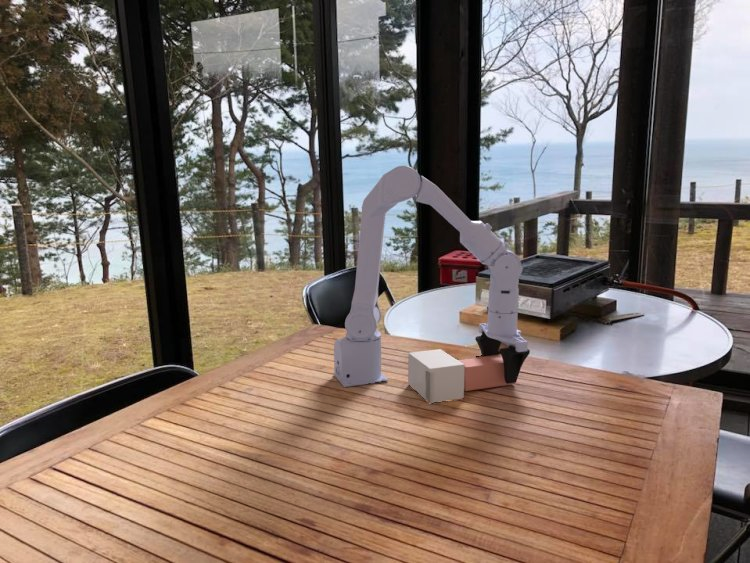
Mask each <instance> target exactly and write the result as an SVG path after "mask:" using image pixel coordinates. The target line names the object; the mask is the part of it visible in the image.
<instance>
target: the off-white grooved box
mask: <svg viewBox="0 0 750 563" xmlns="http://www.w3.org/2000/svg"><path fill="white" fill-rule="evenodd" d="M446 352H447V351H445V350H443V349H441V348H438V349H429V350H421V351H420V350H419V351H412V352H411V351H410V352H408V353H407V354H408V360H407V362H408V364H407V366H408V367H407V369H408V372H407V375H408V376H407V380H408V381H407V385H408V384H409V385H411V386H412V387H413V388H414V389H415V390H416V391H417V392H418V393H419V394H420V395H421V396H422V397H423V398H424V399H425V400H427V401H428V402H429V403H433V402H439V401H446V400H452V399H460V398H464V397H465V390H464V365H465V364H463V363H462V362H460V361H458V360H457V359H455V358H454V357H452V356H451V355H449V354H450V353H448V352H447V353H448V354H447V353H446ZM419 394H418V395H419ZM420 395H419V396H420ZM421 396H420V397H421ZM422 397H421V398H422ZM423 398H422V399H423ZM424 399H423V400H424ZM425 400H424V401H425ZM428 402H427V403H428ZM429 403H428V404H429Z"/></svg>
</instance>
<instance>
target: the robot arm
mask: <svg viewBox="0 0 750 563" xmlns="http://www.w3.org/2000/svg"><path fill="white" fill-rule="evenodd" d="M415 196H417V197H416V199H415V202H418V203H421V204H425V205H429V206H431V207H432V208H433V209H434V210H435V211H436V212H437V213H438V214H439V215H441V217H443V218H444V219H445V220H446V221H447V222H448V223H449V224H450V225H452V226H453V227H454V228H455V229H456V230H457V231H458V232H459V243H460V244H461V245H462V246H463V247H464V248H465V249H467V251H469V253H470V254H472V255H473V257H475V258H476V259H477V260H478V261H479V262H480V263H481V264H482V265H486V266H487V269H488V271H489V272H490V276H489V278H490V279H489V287H488V304H487V322H485V323H483V322H482V323H479V325H478V333H479V334H480V335H477V336H475V337H474V338H475V343H478V345H479V348H480V350H481V354H482V356H481V357H485V356H493V355H499V353H500V355H501V356H502V359H503V364H504V377H505V382H506V383H507V384H510V383H515V384H516V383H517V382H518V381H517V380H518V377H519V374H520V372H521V368H522V366H523V365H524V362H525V360H526V359H527V357H528V356H530V353H531V352H530V351H531V350H530V349H529V348H528V343H529V342H528V341H527V340H525V339H524V337H522V336H521V335H522V330H520V329H518V316H519V315H518V314H519V313H518V312H519V293H520V289H519V282H520V280H519V277H520V276H522V273H523V269H524V268H523V266H522V260H521V259H520V258H519V256H518V255H517V254H516V253H514V252H513V249H511V248H509V247H510V244H509V243H508V242H507V241H505V242H504V241H502V240H501V238H499V236H498V235H496V233H494V232H493V231H492V229H493V227H492V225H490V223H488V222H487V223H484V222H483V221H482V220H471V219H470V218H469V217H468V216H467V215H466V214H465V213H464V212H463V211H462V210H461V209H460V208H459V207H458V206H457V205H456V204H455V203H454V202H453V201H452V199H451V198H450V197H448V196H447V195H446V194H445V192H444V191H443V190H441V189H440V188H439V186H437V185H436V184H435V183H433V182H432V181H430V180H429V179H427V178H426V177H424V176H423V175H420V174H419V173H418V171H417V170H415V168H412V167H411V166H408V165H398V166H396V167H393V168H392V169H390V170H389V171H387V172H386V173H384V174H383V175H382V176H381V177H380V179H379V180H378V182H377V183H376V184H375V185H374V186H373V187H372V189H371V190H370V192H369V193H368V194H367V195H366V196H365V198H364V199H363V201H362V205H361V206H362V207H361V218H360V228H359V239H358V250H357V260H356V273H355V284H354V290H353V296H352V300H351V306H350V311H349V313H348V314H347V316H346V318H345V320H344V321H345V322H344V327H345V328H344V329H345V332H346V333H345V336H344V337H342V338H338V339H335V340H334V345H333V363H334V369H333V370H334V371H333V375H334V377H335V378H336V379H337V380H338V382H339V383H340V384H341V386H343V387H344V388H346V387H354V386H355V387H356V386H362V385H369V384H368V383H371V384H376V383H375V382H379V383H382V382H381V381H386V382H388V381H389V378H388V377H387V376H386V375H385V374H384V373H382V333H381V332H380V330H379V329H378V324H379V323H380V321H381V317H382V313H381V309H380V307H379V284H380V283H379V282H380V275H381V274H380V273H381V262H382V255H383V241H384V234H385V233H384V232H385V223H386V222H385V220H386V214H387V212H389V211H390V210H392V209H393V208H394V207H396V206H397V205H398V204H399V203H402V202H405V201H408V200H410V199H411V198H412V199H413V197H415ZM501 342H503V343H505V344H507V345H509V348H502V349H499V348H500V345H501ZM387 380H388V381H387Z"/></svg>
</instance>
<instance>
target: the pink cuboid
mask: <svg viewBox="0 0 750 563" xmlns="http://www.w3.org/2000/svg"><path fill="white" fill-rule="evenodd" d="M458 361H460V362H462V363H463V364H465V365H464V392H468V391H474V390H475V391H476V390H482V389H489V388H496V387H502V386H511V385H515V384H516V383H510V384H507V383H506V382H505V377H504V364H503V359H502V356H501V354H498V355H493V356H485V357H482V356H479V357H476V358H469V359H461V360H458Z"/></svg>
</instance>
